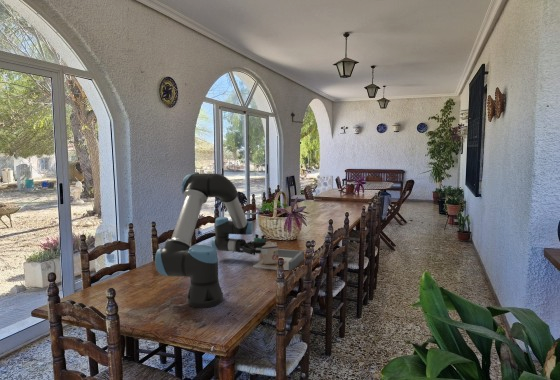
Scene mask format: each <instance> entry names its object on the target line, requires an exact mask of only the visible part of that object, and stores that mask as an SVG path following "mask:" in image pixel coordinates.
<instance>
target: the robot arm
mask: <svg viewBox="0 0 560 380" xmlns="http://www.w3.org/2000/svg"><path fill="white" fill-rule="evenodd" d="M181 193H182V195H183V198H184V201H183V204H182V207H181V210H180V212H179V215H178V218H177V220H176V224H175V226H174V230H173V232H172V235H171V238H170V239H168V240H167V241H166V242H165V245H164V247H160V248H158V249H157V250H156V253H155V256H154V265H155V268H156V269H155V270H156V271H157V273H158V274H159V275H162V276H166V277H184V278H185V277H186V278H187V277H188V278H190V286H189V289H188V293H187V297H186V302H187V303H186V304H187V305H188V306H190V307H192V308H197V309H198V308H199V309H200V308H201V309H202V308H203V309H204V308H206V309H207V308H211V307H214V306H215V307H216V306H218V305H220V304H221V303H222V302H224V293H223V290H222V287H221V285H220V282H219V258H218V251H220V252H221V251H222V252H230V253H231V252H232V253H246V254H249V255H252V256H255V255H257V254H258V255H262V254H267V249H260V248H256V247H262V246H264V245H265V244H267V243H268V241H267V240H265V241H254V240H253V241H251V240H250V241H248V242H247V241H246V240H245V239H243V238H231V237H230V235H243V236H244V235H245V236H249V235H252V234H253V233H254V228H255V227H254V223H253V221H251V220H250V221H249V220H248V219H247V218H246V215H245V212H244V210H243V207H242V205H241V202H240V200H239V197H238V189H237V188H236V185H234V183H233V182H232V181H231V180H230V179H229V178H227V177H226V176H225V175H223V174H219V173H195V172H194V173H189V174H187V175H185V177H183V180H182V182H181ZM209 198H218V199H219V200H220V201H221V202H222V203H223V204H224V206H225V208H226V211H227V213H228V215H229V217H230V219H231V220H229V217H227V216H219V217H216V218H215V221H214V222H215V225H214V226H215V227H214V229H215V237H213V238H212V240H211V246H210V245H207V244H194V245H192V246H191V242H192V238H193V235H194V232H195V229H196V226H197V222H198V220H199V216H200V215H201V210H202V206H203V205H204V204H206V203H207V202H208V199H209ZM229 237H230V238H229ZM272 243H273V244H275V245H277V242H272ZM255 248H256V250H255Z"/></svg>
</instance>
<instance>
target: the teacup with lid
mask: <svg viewBox="0 0 560 380" xmlns="http://www.w3.org/2000/svg"><path fill="white" fill-rule="evenodd" d="M267 242H268V243H267V244H265V245H264V246H262V249H267V254H261V255H262V259H263V263H264V264H272V263H277V261H278V259H279V256H278V249H279V245H275V244H273V243H274V242H272V241H270V240H269V241H267Z"/></svg>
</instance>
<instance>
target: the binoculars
mask: <svg viewBox="0 0 560 380" xmlns="http://www.w3.org/2000/svg"><path fill="white" fill-rule="evenodd" d="M254 236H255V237H254V238H253V241H265V240H266V238H265V234H263V235H261V238H260V237H259V234H256V233H255V234H254ZM266 241H267V240H266ZM256 248H260V249H262V247H256ZM256 248H255V250H256Z"/></svg>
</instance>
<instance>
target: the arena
mask: <svg viewBox="0 0 560 380" xmlns="http://www.w3.org/2000/svg"><path fill="white" fill-rule="evenodd" d="M278 256H279V258H283V259H284V270H289V271H288V272H292V271H291V270H293V269H294V268H295V269H296V268H297V267H298V266H299V265H300V264H301V263H302V262H304V259H305V251H304V250H298V249H287V248H285V249H283V248H278ZM300 262H301V263H300ZM297 265H298V266H297ZM252 268H257V269H265V270H275V271H278V270H277V263H272V264H264V263H263V258H262V259H261V260H259V261H258V262H257V263H255V264H254V265H253V266H252ZM295 269H294V270H295ZM294 270H293V271H294Z"/></svg>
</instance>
